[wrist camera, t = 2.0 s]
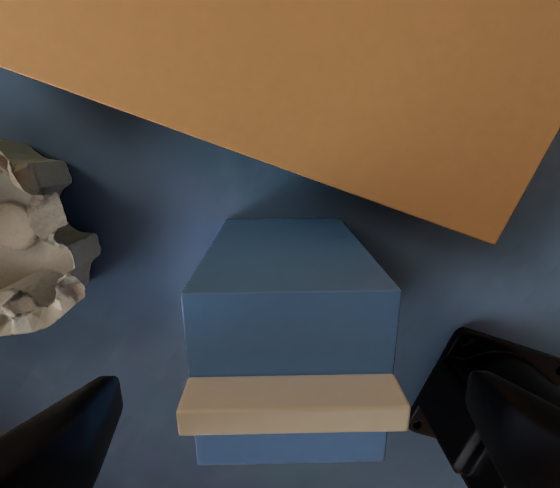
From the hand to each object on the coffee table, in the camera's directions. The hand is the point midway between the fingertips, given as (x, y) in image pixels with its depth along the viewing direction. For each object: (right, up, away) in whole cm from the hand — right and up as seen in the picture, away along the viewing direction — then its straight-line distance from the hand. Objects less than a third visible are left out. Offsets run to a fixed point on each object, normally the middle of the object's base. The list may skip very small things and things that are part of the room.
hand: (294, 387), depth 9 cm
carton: (0, +2, +8) cm, 8 cm away
